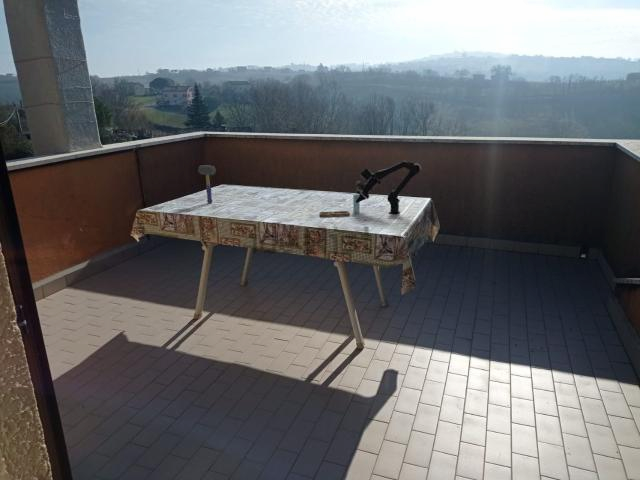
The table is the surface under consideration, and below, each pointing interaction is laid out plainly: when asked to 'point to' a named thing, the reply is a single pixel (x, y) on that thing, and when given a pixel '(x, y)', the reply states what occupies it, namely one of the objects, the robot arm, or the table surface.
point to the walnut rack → (335, 214)
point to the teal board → (355, 205)
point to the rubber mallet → (207, 178)
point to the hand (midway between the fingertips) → (354, 201)
